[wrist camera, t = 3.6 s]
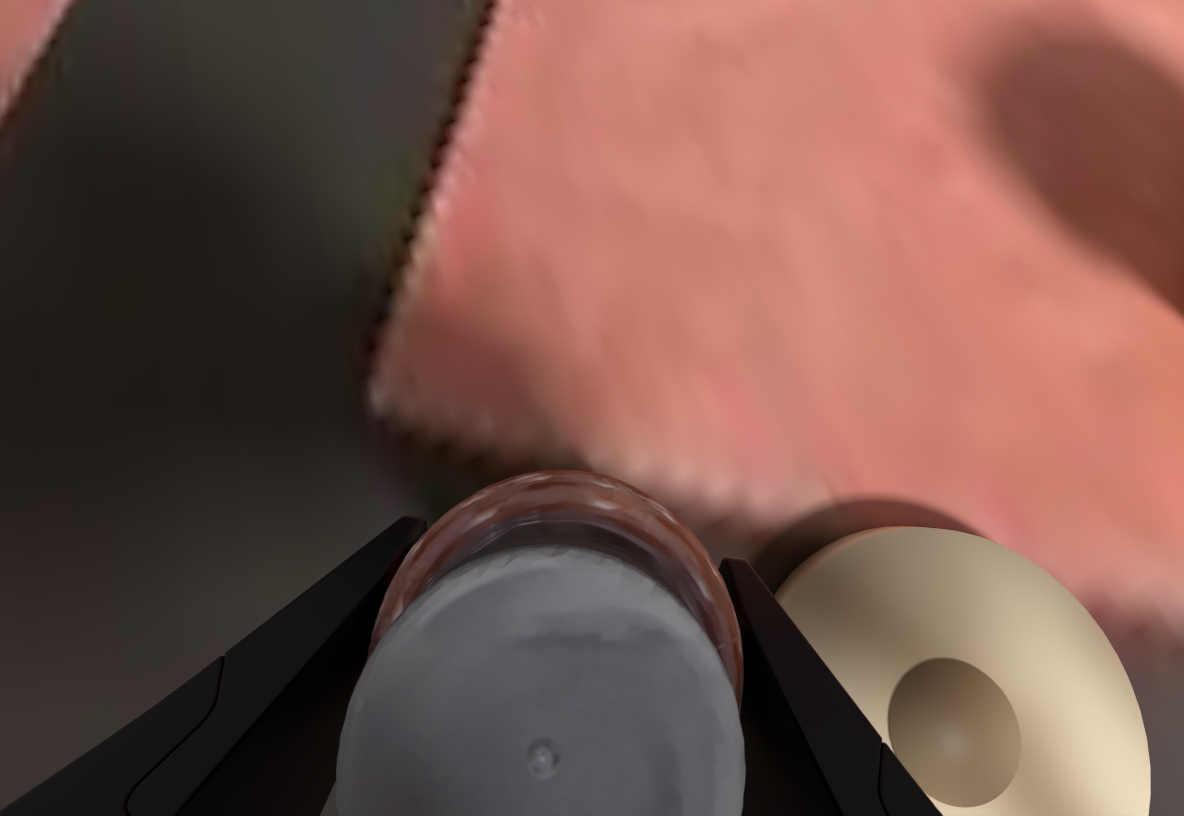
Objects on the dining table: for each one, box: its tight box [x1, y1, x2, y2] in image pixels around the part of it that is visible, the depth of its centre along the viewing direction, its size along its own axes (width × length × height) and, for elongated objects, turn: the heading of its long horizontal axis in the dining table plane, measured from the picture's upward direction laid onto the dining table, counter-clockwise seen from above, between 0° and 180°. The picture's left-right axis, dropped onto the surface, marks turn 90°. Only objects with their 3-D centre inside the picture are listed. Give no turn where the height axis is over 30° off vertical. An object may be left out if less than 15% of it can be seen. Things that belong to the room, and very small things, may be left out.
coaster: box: [774, 526, 1150, 816], centre depth 14 cm, size 12×12×1 cm
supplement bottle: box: [335, 470, 746, 816], centre depth 10 cm, size 6×6×11 cm
